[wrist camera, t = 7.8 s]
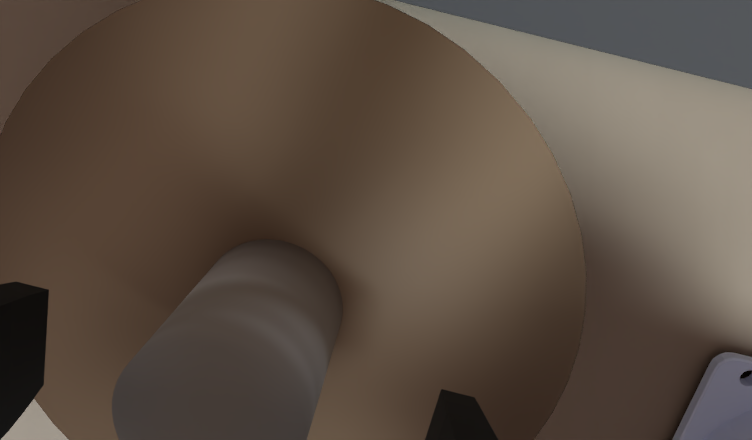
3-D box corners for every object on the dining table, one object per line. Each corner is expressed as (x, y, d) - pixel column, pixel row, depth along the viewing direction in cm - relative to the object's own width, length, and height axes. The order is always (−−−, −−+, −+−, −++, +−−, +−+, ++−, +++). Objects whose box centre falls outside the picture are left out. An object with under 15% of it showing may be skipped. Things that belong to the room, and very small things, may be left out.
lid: (675, 76, 11) (834, 115, 7) (476, 569, 16) (493, 792, 11) (16, -95, 12) (-252, -166, 7) (-4, 443, 16) (-179, 614, 11)
